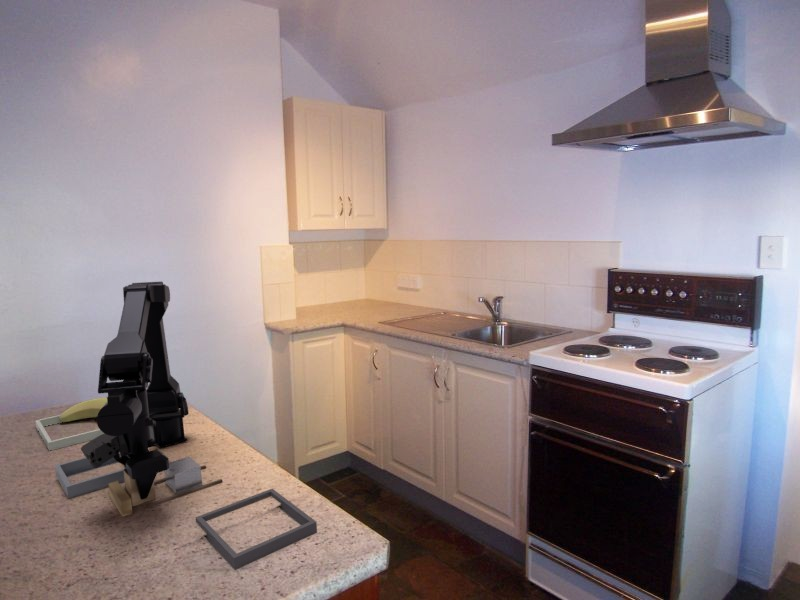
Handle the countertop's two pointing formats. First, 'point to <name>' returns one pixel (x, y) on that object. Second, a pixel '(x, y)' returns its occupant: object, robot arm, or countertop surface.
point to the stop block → (136, 491)
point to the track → (125, 506)
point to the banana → (83, 410)
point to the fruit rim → (67, 440)
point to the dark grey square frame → (265, 547)
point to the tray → (89, 484)
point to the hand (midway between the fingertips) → (140, 494)
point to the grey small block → (183, 475)
